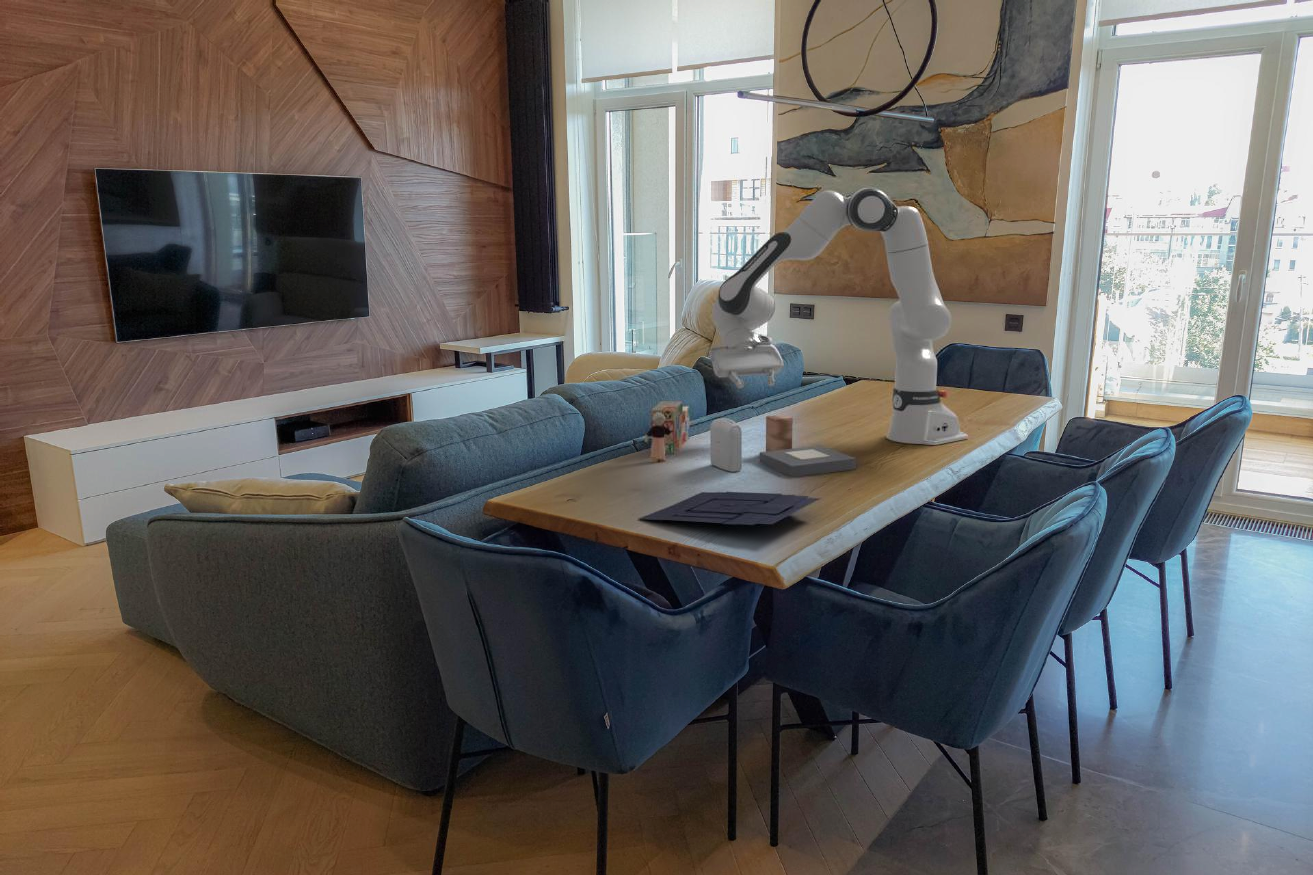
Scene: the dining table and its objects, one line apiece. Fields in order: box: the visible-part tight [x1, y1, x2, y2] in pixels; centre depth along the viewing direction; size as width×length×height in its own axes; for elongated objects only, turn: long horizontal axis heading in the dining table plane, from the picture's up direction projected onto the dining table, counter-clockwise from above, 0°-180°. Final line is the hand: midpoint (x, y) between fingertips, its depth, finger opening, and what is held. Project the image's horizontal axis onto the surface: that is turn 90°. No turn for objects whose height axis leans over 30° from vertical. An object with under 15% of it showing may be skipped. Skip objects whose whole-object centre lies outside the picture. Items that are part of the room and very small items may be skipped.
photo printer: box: [709, 417, 743, 473], centre depth 219 cm, size 10×4×12 cm, turn 26°
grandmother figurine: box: [644, 412, 673, 463], centre depth 227 cm, size 8×4×13 cm, turn 123°
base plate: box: [759, 445, 857, 478], centre depth 221 cm, size 18×16×3 cm
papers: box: [638, 491, 822, 526], centre depth 180 cm, size 24×30×4 cm
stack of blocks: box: [650, 400, 691, 455], centre depth 245 cm, size 21×6×12 cm, turn 167°
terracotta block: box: [765, 414, 794, 452], centre depth 233 cm, size 5×5×10 cm
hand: (756, 385), depth 241 cm, fingers open, 8 cm apart
